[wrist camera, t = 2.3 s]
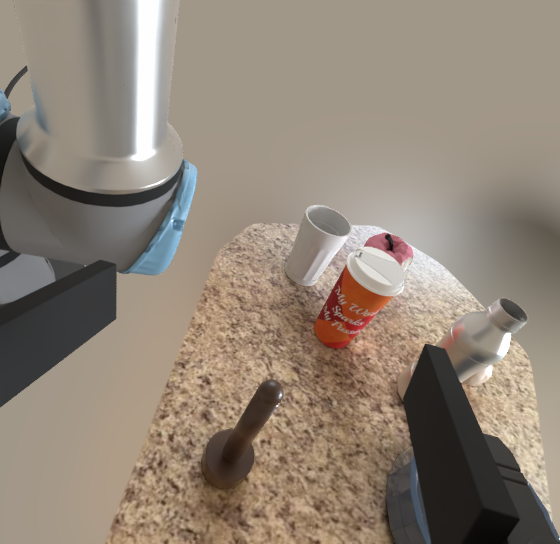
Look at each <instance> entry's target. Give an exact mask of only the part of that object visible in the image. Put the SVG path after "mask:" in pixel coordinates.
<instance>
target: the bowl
mask: <svg viewBox="0 0 560 544" xmlns="http://www.w3.org/2000/svg"><path fill="white" fill-rule="evenodd" d="M526 481H527V480H526ZM527 483H528V484H527V486H528V487H530V489H531V491H532V493H533V495H534V497H535V499H536V501H537V503H538V505H539V507H540V509H541V511H542V513H543V515H544V517H545V519H546V521H547V523H548V525H549V527H550V529H551V531H552V533H553V535H554V536H555V538H556V540H558V541H559V542H560V538H559V536H558V533H557V531H556V529H555V527H554V525H553V522H552V520H551V518H550V516H549V514H548V511H547V510H546V508H545V507H544V505H543V504H542V502H541V501H540V499H539V497H538V496H537V494H536V493H535V491H534V490H533V488H532V487H531V485H530V484H529V482H528V481H527ZM386 504H387V510H388V516H389V522H390V528H391V533H392V535H393V538H394V541H395V543H396V544H431V539H430V534H429V529H428V524H427V519H426V514H425V509H424V504H423V498H422V493H421V488H420V483H419V478H418V473H417V468H416V462H415V457H414V452H413V447H412V445H411V446H410V447H408V448H407V449H406V450H405V451H404V452H402V453H401V454H400V455H399V456H398V457H397V458H396V460H395V462H394V464H393V467H392V469H391V471H390V473H389V475H388V486H387V498H386Z"/></svg>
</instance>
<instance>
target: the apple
mask: <svg viewBox="0 0 560 544" xmlns="http://www.w3.org/2000/svg"><path fill="white" fill-rule="evenodd" d="M364 247H373V248H377V249H379V250H382V251H384V252H385V253H387V254H389V255H390V256H391V257H393V258H394V259H395V260H396V261H397V262H398V263H399V265H400V266H401V268H402V269H403V272H404V270H405V269H406V268H407V267H408V266H409V265H410V264H411V262H412V259H413V252H412V248H411V247H410V246H408V245H407V244H406V243H405V242H404V241H403V240H402V239H400V238H399V237H397V236H394V235H391V234H388V233H382V234H379V235H375V236H373V237H371V238H369V239H368V240H367V242H366V244H365V245H364Z"/></svg>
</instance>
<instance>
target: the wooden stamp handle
mask: <svg viewBox="0 0 560 544" xmlns="http://www.w3.org/2000/svg"><path fill="white" fill-rule="evenodd" d="M283 394H284V392H283V388H282V386H281V384H280V383H279V382H278V381H276V380H272V379H270V380H266V381H264V382H262V383H261V385H260V386H259V388H258V389H257V391H256V393H255V394H254V396H253V398H252V399H251V401H250V403H249V404H248V406H247V408H246V410H245V411H244V413H243V415H242V416H241V418H240V420H239V421H238V423H237V425H236V426H235V428H234V430H233V429H226V430H222V431H220V432H218V433H216V434H215V435H214V436H213V437H212V438H211V439H210V441H209V443H208V445H207V447H206V449H205V451H204V453H203V456H202V461H201V466H202V471H203V474H204V476H205V478H206V480H207V481H208V482H209V483H210V484H211V485H213V486H214V487H216V488H219V489H230V488H233V487H235V486H237V485H238V484H240V483H241V482H242V481H243V479H244V478H245V477H246V476H247V474H248V473H249V472H250V470H251V468H252V466H253V463H254V449H253V446H252V444H251V442H252V441H253V440H254V438H255V437H256V436H257V434H258V433H259V431H260V430H261V429H262V427H263V426H264V424H265V423H266V422H267V420H268V419H269V417H270V416H271V415H272V413H273V412H274V410H275V409H276V408H277V406H278V405H279V403H280V402H281V400H282V398H283Z"/></svg>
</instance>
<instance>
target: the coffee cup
mask: <svg viewBox="0 0 560 544" xmlns="http://www.w3.org/2000/svg"><path fill="white" fill-rule="evenodd" d="M404 284H405V278H404V272H403V269H402V268H401V266H400V265H399V263H398V262H397V261H396V260H395V259H394V258H393V257H391V256H390V255H389V254H387V253H385V252H384V251H382V250H379V249H377V248H373V247H360V248H358V249H357V250H356V251H354V252H352V253H350V254H349V255H348V257H347V260H346V266H345V268H344V270H343V271H342V273H341V275H340V277H339V279H338V281H337V282H336V284H335V286H334V288H333V290H332V292H331V294H330V295H329V297H328V299H327V301H326V303H325V305H324V307H323V309H322V310H321V312H320V314H319V316H318V318H317V320H316V322H315V326H314V329H315V333H316V335H317V337H318V338H319V340H320V341H321V342H322V343H324V344H325V345H327V346H329V347H331V348H336V349H340V348H343V347H345V346H346V345H347V344H348V343H349V342H350V341H351V340H352V339H353V338H354V337H355V336H356V335H357V334H358V333H359V332H360V331H361V330H362V329H363V328H364V327H365V326H366V325H367V324H368V323H369V322H370V321H371V320H372V318H373V317H374V316H375V315H376V314H377V313H378V312H379V311H380V310H381V309H382V308H383V307H384V306H385V305H386V304H387V302H388V301H389V300H390V299H391V298H392V297H393V296H396V295H398V294H399V293H401V292H402V291H403V290H404Z"/></svg>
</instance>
